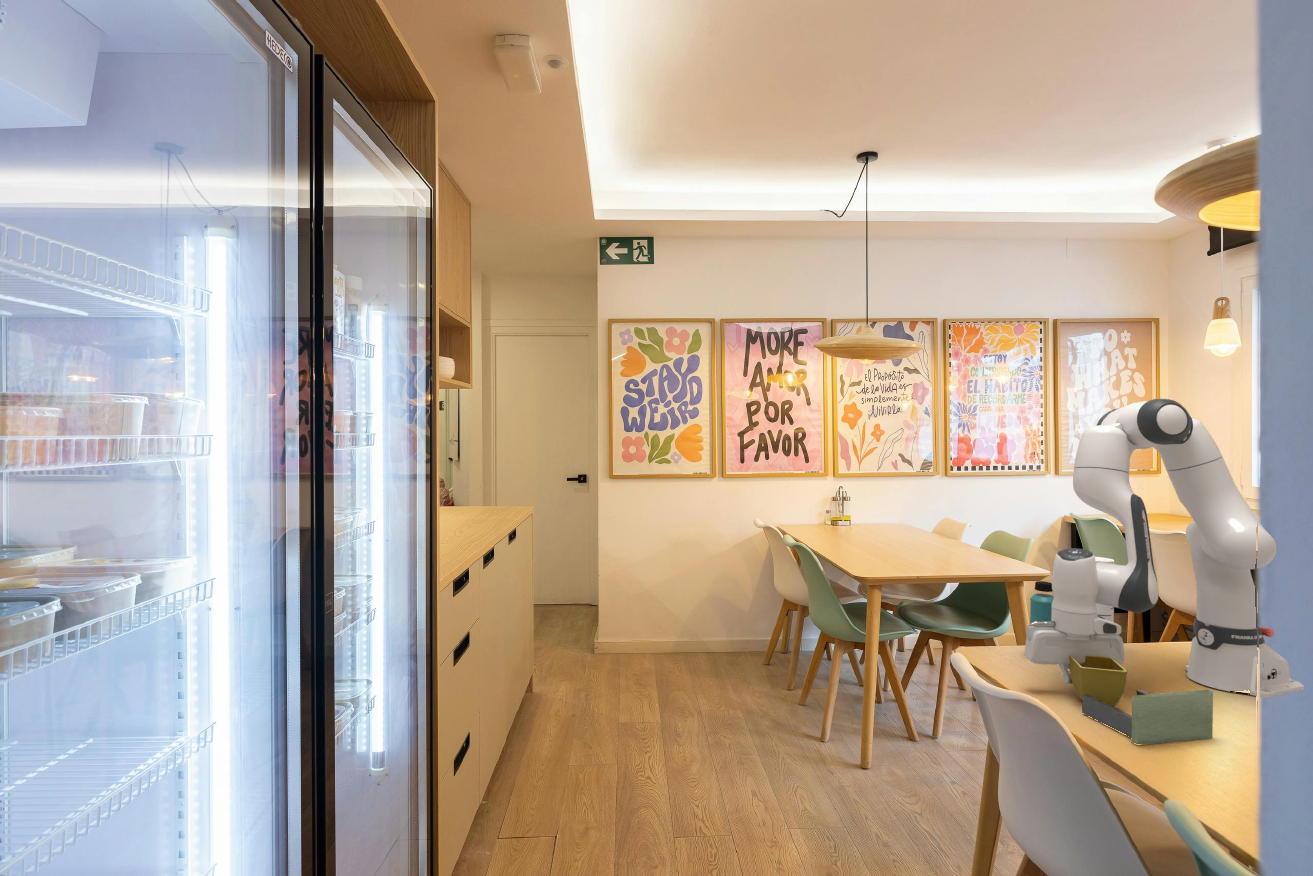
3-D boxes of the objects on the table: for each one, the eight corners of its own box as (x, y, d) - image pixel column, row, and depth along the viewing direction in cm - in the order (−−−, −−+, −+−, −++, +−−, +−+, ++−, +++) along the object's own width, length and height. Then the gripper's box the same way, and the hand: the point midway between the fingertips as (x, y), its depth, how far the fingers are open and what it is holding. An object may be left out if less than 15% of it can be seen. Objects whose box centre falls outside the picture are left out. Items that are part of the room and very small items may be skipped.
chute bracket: (1146, 708, 143) (1146, 666, 143) (1212, 738, 129) (1213, 692, 129) (1076, 714, 140) (1077, 671, 140) (1137, 745, 126) (1137, 698, 126)
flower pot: (1127, 713, 140) (1128, 671, 140) (1080, 709, 142) (1080, 666, 142) (1111, 697, 149) (1111, 657, 149) (1066, 693, 151) (1067, 653, 151)
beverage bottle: (1062, 664, 170) (1063, 585, 170) (1033, 662, 171) (1034, 584, 171) (1052, 655, 176) (1053, 579, 176) (1025, 653, 178) (1026, 578, 177)
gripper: (1033, 625, 149) (1033, 687, 149) (1129, 627, 148) (1128, 689, 148) (1019, 617, 155) (1019, 676, 155) (1111, 618, 154) (1110, 678, 154)
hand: (1073, 683), depth 151 cm, fingers closed
